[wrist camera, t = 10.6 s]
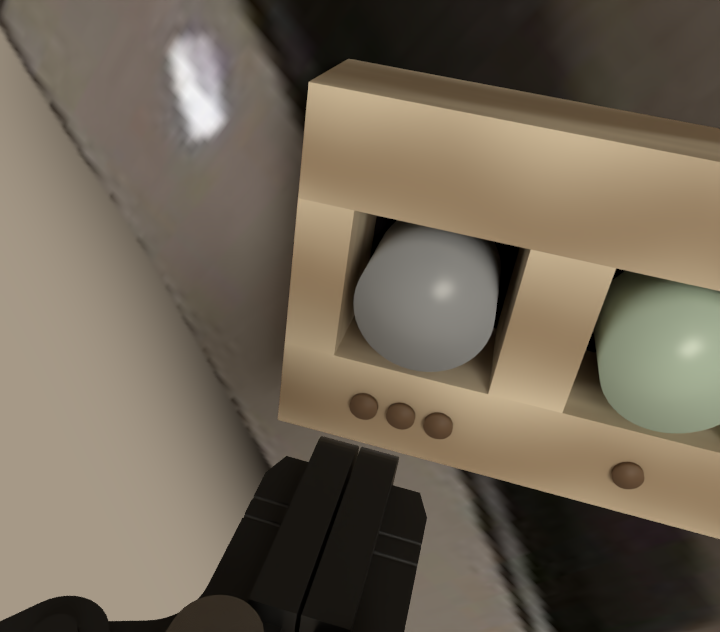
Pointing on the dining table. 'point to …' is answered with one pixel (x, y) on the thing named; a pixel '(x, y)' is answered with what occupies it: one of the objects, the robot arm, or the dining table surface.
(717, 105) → the dining table surface
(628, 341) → the sage button
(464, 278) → the slate button
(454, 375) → the button panel
